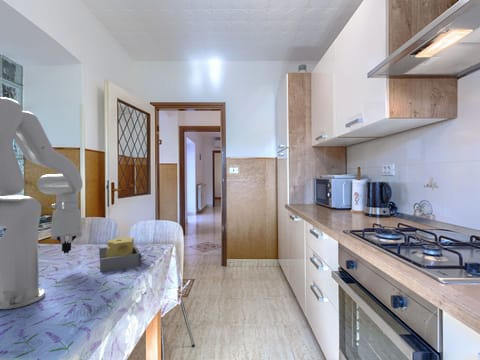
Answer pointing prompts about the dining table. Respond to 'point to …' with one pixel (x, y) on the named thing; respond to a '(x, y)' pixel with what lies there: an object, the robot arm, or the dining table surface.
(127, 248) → the cheese
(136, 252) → the bin
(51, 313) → the dining table surface
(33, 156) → the robot arm
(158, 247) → the dining table surface
